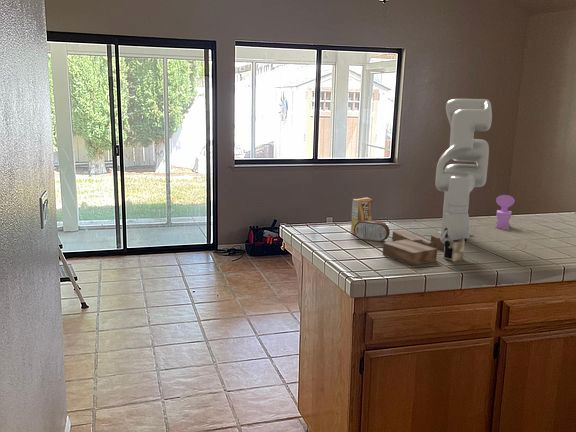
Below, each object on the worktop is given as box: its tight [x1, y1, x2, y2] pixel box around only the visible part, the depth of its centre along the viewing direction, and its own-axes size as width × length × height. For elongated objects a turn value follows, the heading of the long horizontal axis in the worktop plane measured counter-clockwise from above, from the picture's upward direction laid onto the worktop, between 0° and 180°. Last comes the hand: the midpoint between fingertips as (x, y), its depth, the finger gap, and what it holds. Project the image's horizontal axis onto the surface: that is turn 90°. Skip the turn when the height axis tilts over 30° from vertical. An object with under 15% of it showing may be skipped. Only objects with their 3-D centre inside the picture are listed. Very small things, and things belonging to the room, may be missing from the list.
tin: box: [354, 220, 391, 243], centre depth 227 cm, size 15×3×8 cm, turn 65°
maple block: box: [443, 240, 466, 262], centre depth 202 cm, size 5×5×7 cm
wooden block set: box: [392, 230, 444, 250], centre depth 223 cm, size 17×6×18 cm
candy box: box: [350, 197, 373, 235], centre depth 240 cm, size 9×4×15 cm, turn 129°
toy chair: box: [495, 194, 516, 230], centre depth 256 cm, size 8×9×15 cm
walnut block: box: [382, 239, 438, 266], centre depth 203 cm, size 12×16×5 cm
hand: (453, 256), depth 203 cm, fingers closed on maple block, 5 cm apart
